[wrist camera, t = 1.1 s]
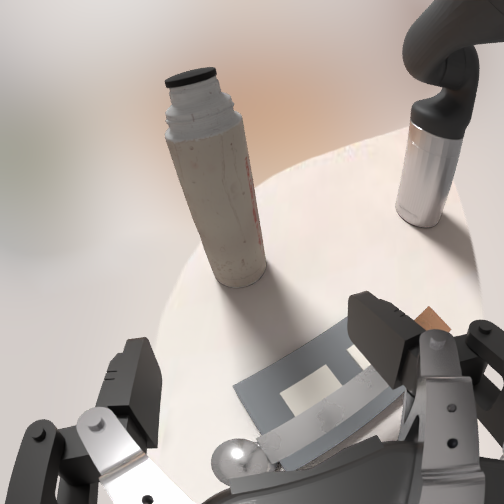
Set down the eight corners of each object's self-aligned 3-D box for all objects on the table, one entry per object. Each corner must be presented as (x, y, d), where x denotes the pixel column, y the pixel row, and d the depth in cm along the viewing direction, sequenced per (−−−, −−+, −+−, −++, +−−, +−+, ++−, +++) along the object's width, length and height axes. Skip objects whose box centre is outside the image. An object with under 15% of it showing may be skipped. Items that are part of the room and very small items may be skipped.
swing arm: (237, 490, 16) (226, 495, 13) (214, 452, 18) (201, 451, 16) (437, 349, 21) (454, 332, 18) (412, 323, 24) (426, 303, 21)
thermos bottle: (265, 244, 44) (234, 58, 23) (267, 285, 38) (229, 69, 18) (215, 249, 45) (162, 74, 24) (211, 290, 39) (136, 92, 19)
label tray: (368, 304, 34) (371, 298, 33) (426, 368, 26) (431, 364, 25) (234, 388, 29) (231, 385, 28) (288, 473, 21) (287, 474, 20)
